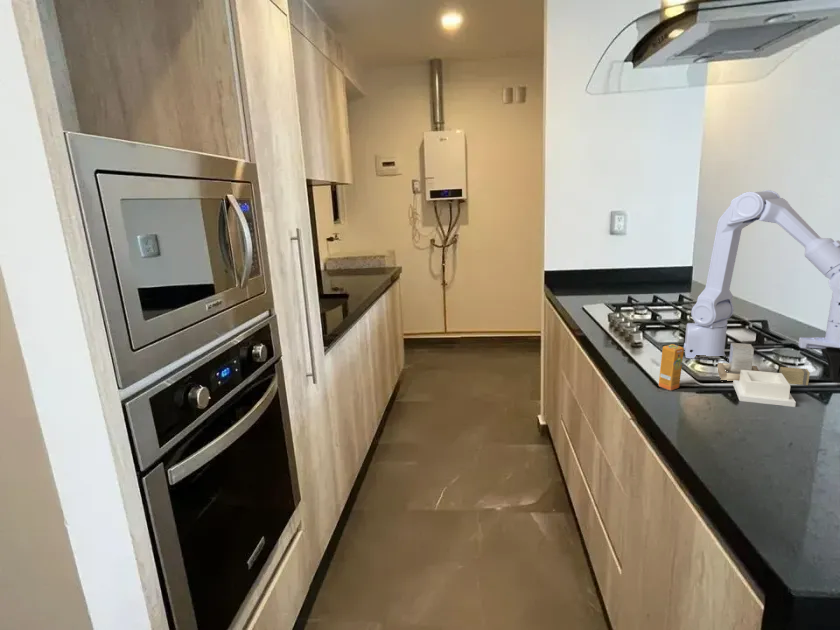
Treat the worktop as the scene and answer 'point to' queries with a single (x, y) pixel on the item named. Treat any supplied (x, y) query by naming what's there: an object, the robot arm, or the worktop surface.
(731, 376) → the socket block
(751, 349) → the steel peg
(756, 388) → the white square socket
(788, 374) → the tan rectangular block
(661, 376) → the supplement box
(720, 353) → the robot arm
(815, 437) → the worktop surface
